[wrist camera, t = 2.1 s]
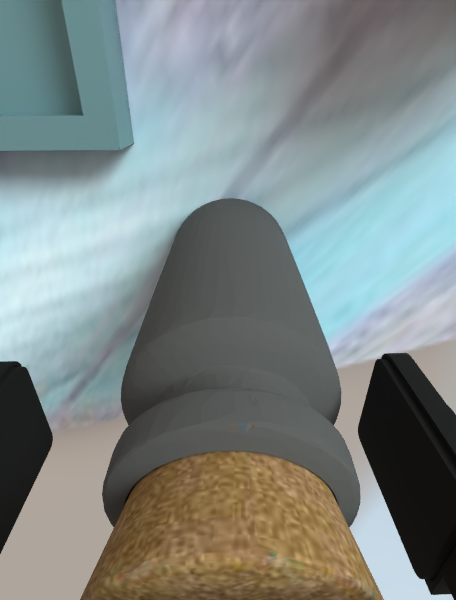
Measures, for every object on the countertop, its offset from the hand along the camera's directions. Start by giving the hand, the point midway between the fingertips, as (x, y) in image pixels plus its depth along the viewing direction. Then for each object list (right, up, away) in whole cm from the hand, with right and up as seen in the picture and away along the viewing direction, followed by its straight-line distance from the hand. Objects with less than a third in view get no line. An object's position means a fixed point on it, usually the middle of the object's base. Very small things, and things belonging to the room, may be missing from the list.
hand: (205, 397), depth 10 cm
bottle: (+1, +5, +9) cm, 10 cm away
